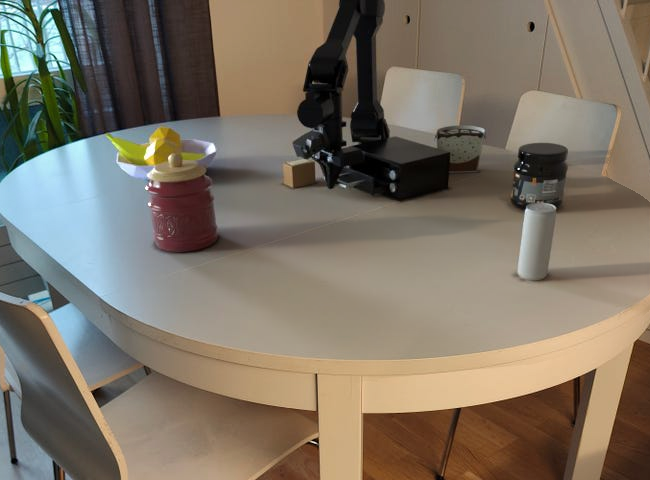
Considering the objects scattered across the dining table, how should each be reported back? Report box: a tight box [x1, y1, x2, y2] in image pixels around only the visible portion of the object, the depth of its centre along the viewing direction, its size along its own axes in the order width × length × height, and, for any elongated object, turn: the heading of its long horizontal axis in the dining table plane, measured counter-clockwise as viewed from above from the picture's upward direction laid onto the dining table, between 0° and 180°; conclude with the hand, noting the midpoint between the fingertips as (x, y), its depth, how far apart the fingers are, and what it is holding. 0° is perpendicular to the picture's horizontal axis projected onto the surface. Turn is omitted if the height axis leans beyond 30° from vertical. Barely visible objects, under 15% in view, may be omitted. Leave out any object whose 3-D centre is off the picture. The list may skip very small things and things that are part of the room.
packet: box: [282, 158, 317, 189], centre depth 167 cm, size 4×6×5 cm
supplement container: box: [510, 142, 569, 212], centre depth 142 cm, size 10×10×12 cm
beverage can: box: [517, 203, 557, 281], centre depth 113 cm, size 5×5×12 cm
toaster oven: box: [348, 136, 450, 202], centre depth 160 cm, size 20×15×8 cm
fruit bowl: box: [105, 125, 218, 181], centre depth 179 cm, size 28×27×11 cm
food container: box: [433, 124, 487, 174], centre depth 168 cm, size 12×6×10 cm, turn 84°
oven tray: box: [323, 165, 390, 196], centre depth 159 cm, size 14×18×4 cm
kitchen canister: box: [145, 153, 219, 253], centre depth 135 cm, size 13×13×18 cm
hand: (330, 188), depth 155 cm, fingers closed, pressing on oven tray
